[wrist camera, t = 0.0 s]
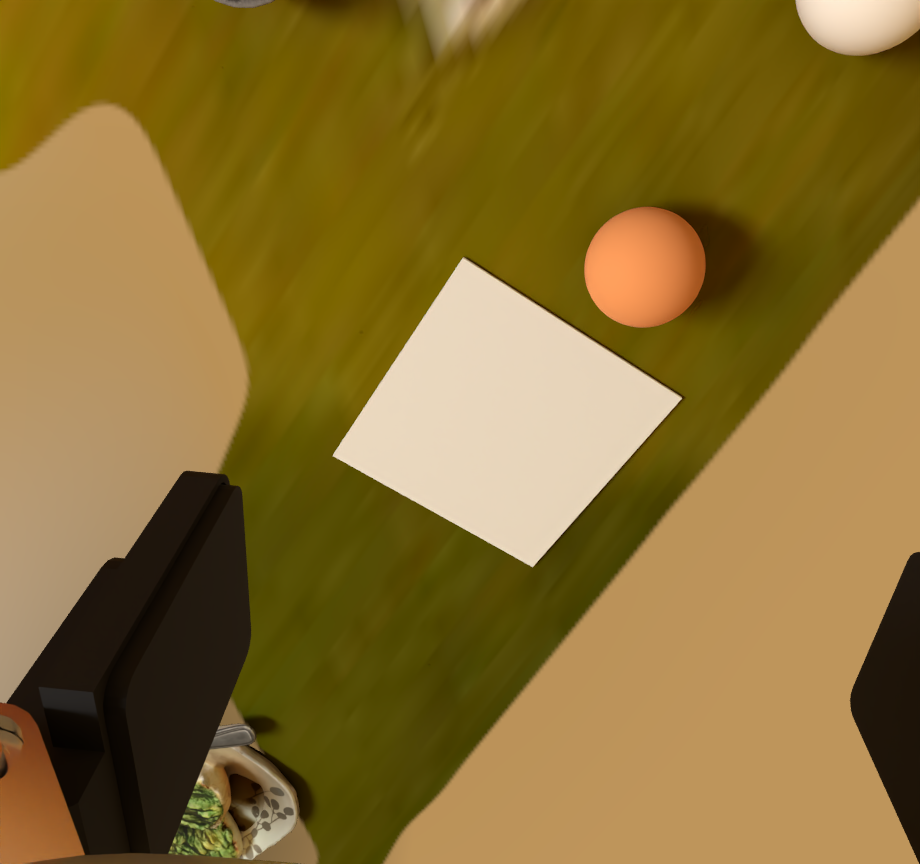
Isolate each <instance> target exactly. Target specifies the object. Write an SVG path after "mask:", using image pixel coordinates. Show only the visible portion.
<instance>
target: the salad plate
mask: <svg viewBox="0 0 920 864" xmlns="http://www.w3.org/2000/svg"><path fill="white" fill-rule="evenodd" d="M255 739H256V732H255V730H254V729H253V728H252V727H251V726H249V725H246V724H231V725H226V726H219V727H218V730H217V732H216V735H215V737H214V740H213V742H212V745H211V747H210V750H209V752H208V755H207V757H206V760H205V762H204V765H203V767H202V770H201V772H200V775H199V778H198V780H197V783H196V785H195V788H194V790H193V793H192V795H191V798H190V800H189V803H188V805H187V808H186V810H185V813H184V815H183V818H182V820H181V823H180V825H179V828H178V830H177V833H176V836H175V838H174V841H173V843H172V846H171V848H170V851H169V853H168V854H174V855H201V856H213V857H225V858H238V859H250V860H253V859H254V858H255V857H256V856H258V855H259V854H261V853H262V852H264V851H265V850H266V849H267V848H269V847H271V846H273V845H276V844H277V842H278V841H280V840H281V839H282V838H284V837H285V836H286V835H287V834H289V833H290V832H291V831H292V830H293V829H294V827H295V826H296V823H297V818H298V815H299V813H300V809H299V803H298V799H297V793H296V791H295V789H294V787H293V786H292V785H291V784H290V783H289V781H288V780H287V779H286V778H285V777H284V776H283V774H282V773H281V772H280V771H279V769H278V768H277V767H276V766H275V765H274V764H273V763H271V762H270V761H269V760H268V759H266V758H265V757H264V756H263V754H262V753H261V752H260V751H258V750H256V749H255V748H253V747H251V746H250V745H249V744H252V743H253V742H254V741H255Z"/></svg>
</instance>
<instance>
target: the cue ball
mask: <svg viewBox="0 0 920 864" xmlns="http://www.w3.org/2000/svg"><path fill="white" fill-rule="evenodd" d="M796 7H797V11H798V14H799V17H800V19H801V22H802V24H803V26H804V27H805V29H806V30H807V32H808V33H809V34H810V36H811V37H812V38H813V39H814V40H815V41H816V42H818V43H819V44H820V45H822V46H824V47H825V48H827V49H829V50H831V51H834V52H836V53H840V54H844V55H855V56H861V55H870V54H875V53H879V52H882V51H885V50H887V49H890V48H892V47H894V46H896V45H899V44H900V43H902V42H903V41H905V40H907V39H908V38H909V37H911V36H912V35H913V34H915V33H916V32H917V31H918V30H919V29H920V0H796Z"/></svg>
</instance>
